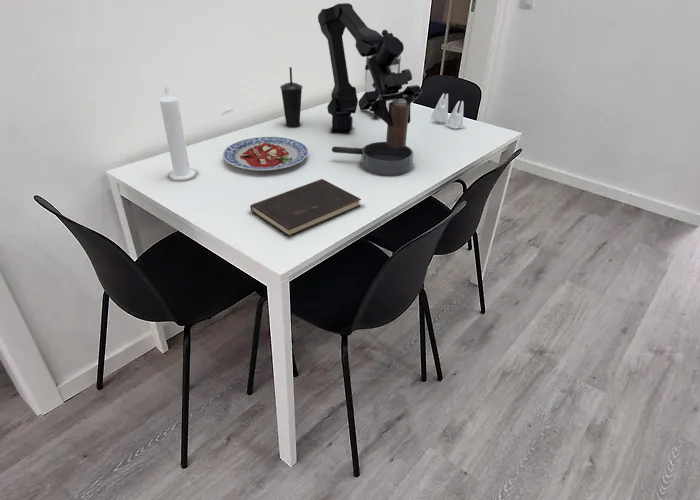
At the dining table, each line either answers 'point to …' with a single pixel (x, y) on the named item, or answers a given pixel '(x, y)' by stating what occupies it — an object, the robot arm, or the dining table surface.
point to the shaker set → (442, 113)
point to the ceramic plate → (265, 153)
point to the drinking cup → (292, 102)
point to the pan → (386, 159)
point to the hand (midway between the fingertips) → (400, 124)
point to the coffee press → (369, 81)
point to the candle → (175, 138)
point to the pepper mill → (397, 123)
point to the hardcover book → (305, 207)
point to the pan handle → (348, 150)
